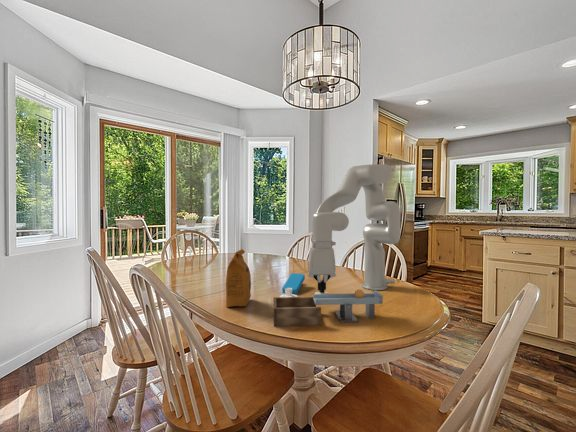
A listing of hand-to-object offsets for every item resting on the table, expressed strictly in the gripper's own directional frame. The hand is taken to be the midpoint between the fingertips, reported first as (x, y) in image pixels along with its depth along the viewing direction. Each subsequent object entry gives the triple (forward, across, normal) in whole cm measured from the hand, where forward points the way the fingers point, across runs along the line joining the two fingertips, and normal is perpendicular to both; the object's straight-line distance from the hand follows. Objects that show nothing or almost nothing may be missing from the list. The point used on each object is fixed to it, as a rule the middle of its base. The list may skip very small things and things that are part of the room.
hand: (321, 291), depth 112 cm
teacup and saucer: (+8, +15, -15) cm, 23 cm away
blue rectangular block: (+7, +8, -30) cm, 31 cm away
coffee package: (+7, +33, -9) cm, 35 cm away
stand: (+7, -11, +7) cm, 15 cm away
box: (+7, +11, +8) cm, 15 cm away
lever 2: (+1, -8, +4) cm, 9 cm away
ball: (-1, -13, +8) cm, 15 cm away
